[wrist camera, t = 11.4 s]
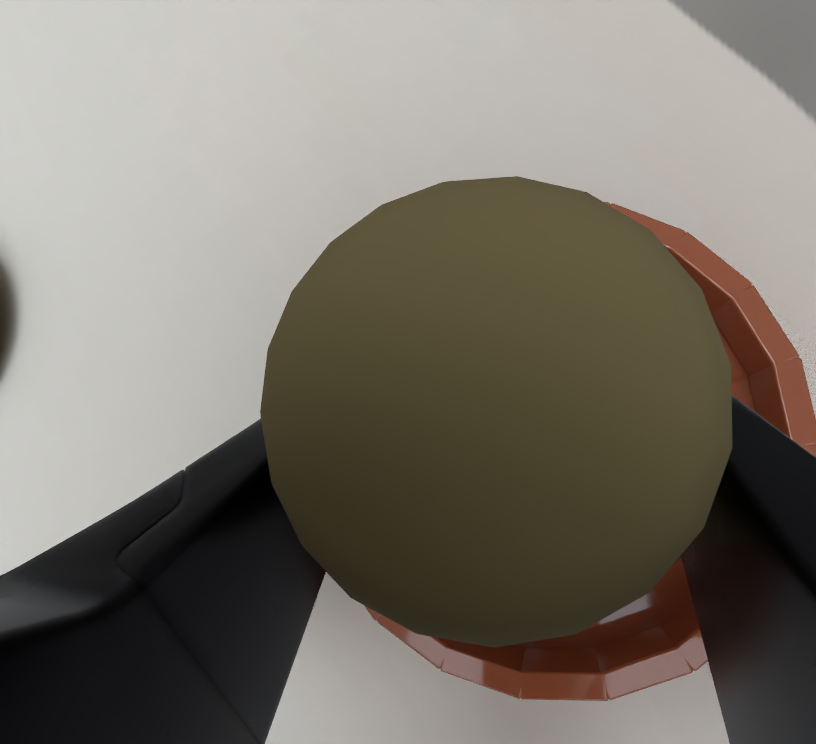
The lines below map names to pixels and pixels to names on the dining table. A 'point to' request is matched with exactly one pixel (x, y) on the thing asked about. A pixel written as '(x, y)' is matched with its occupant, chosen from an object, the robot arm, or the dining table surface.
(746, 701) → the robot arm
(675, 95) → the dining table surface
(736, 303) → the bowl
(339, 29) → the dining table surface
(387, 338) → the olive game pawn
